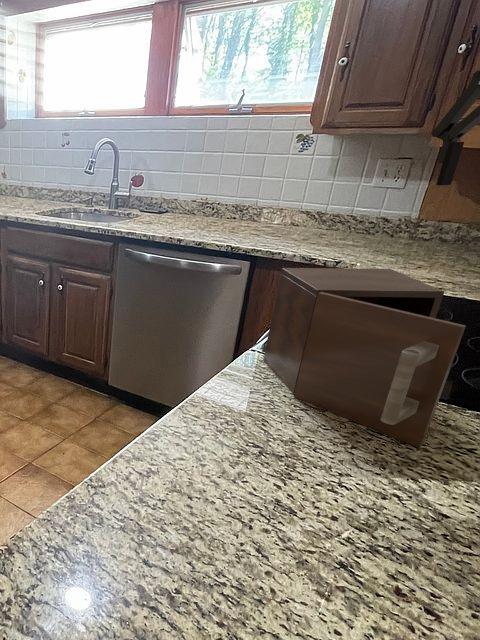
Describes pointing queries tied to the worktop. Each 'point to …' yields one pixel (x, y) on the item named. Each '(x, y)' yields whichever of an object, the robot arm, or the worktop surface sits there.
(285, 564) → the worktop surface
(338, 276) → the cupboard
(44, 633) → the worktop surface
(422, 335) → the door
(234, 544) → the worktop surface
